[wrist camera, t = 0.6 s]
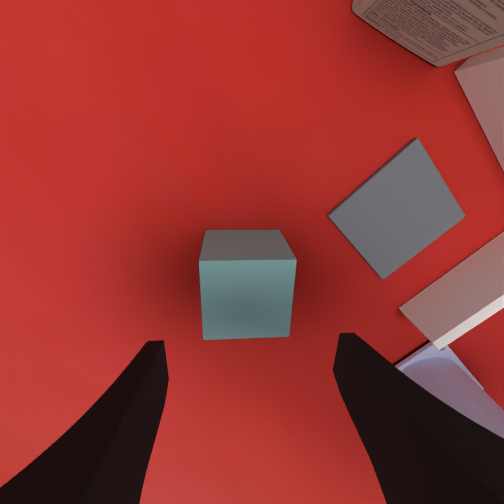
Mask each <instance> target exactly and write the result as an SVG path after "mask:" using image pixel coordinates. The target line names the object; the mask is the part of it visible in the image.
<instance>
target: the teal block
mask: <svg viewBox="0 0 504 504" xmlns="http://www.w3.org/2000/svg"><path fill="white" fill-rule="evenodd" d="M296 262H297V259H296V258H295V256H294V254H293V252H292V251H291V249H290V247H289V245H288V243H287V242H286V240H285V238H284V236H283V235H282V233H281V231H280V230H206V231H205V236H204V240H203V244H202V249H201V253H200V258H199V273H200V291H201V308H202V326H203V340H216V339H242V338H268V337H289V332H290V322H291V312H292V302H293V292H294V282H295V272H296Z"/></svg>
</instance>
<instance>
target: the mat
mask: <svg viewBox="0 0 504 504" xmlns="http://www.w3.org/2000/svg"><path fill="white" fill-rule="evenodd" d="M327 216H328V217H329V218H330V219H331V221H332V222H333V223H334V224H335V225H336V226H337V228H338V229H339V230H340V231H341V232H342V233H343V235H344V236H345V237H346V238H347V239H348V240H349V242H350V243H351V244H352V245H353V246H354V247H355V248H356V250H357V251H358V252H359V253H360V254H361V255H362V257H363V258H364V259H365V260H366V261H367V262H368V264H369V265H370V266H371V267H372V268H373V269H374V271H375V272H376V273H377V274H378V275H379V276H380V278H381V279H383V280H384V279H385V278H386V277H388V276H389V275H390V274H391V273H393V272H394V271H395V270H397V269H398V268H399V267H401V266H402V265H403V264H404V263H406V262H407V261H408V260H410V259H411V258H412V257H414V256H415V255H416V254H417V253H419V252H420V251H421V250H423V249H424V248H425V247H427V246H428V245H429V244H430V243H432V242H433V241H434V240H436V239H437V238H438V237H440V236H441V235H442V234H443V233H445V232H446V231H447V230H449V229H450V228H451V227H453V226H454V225H455V224H456V223H458V222H459V221H460V220H462V219H463V218H464V217H466V216H465V215H464V213H463V211H462V210H461V208H460V206H459V205H458V203H457V201H456V200H455V198H454V196H453V195H452V193H451V192H450V190H449V188H448V187H447V185H446V183H445V182H444V180H443V178H442V177H441V175H440V173H439V172H438V170H437V169H436V167H435V165H434V164H433V162H432V160H431V159H430V157H429V155H428V154H427V152H426V150H425V149H424V147H423V145H422V144H421V142H420V141H419V139H418V138H414V139H413V140H412V141H411V142H409V143H408V144H407V145H406V146H405V147H404V148H403V149H401V150H400V151H399V152H398V153H397V154H396V155H395V156H393V157H392V158H391V159H390V160H389V161H388V162H387V163H386V164H384V165H383V166H382V167H381V168H380V169H379V170H378V171H376V172H375V173H374V174H373V175H372V176H371V177H370V178H368V179H367V180H366V181H365V182H364V183H363V184H362V185H360V186H359V187H358V188H357V189H356V190H355V191H354V192H353V193H351V194H350V195H349V196H348V197H347V198H346V199H345V200H343V201H342V202H341V203H340V204H339V205H338V206H337V207H335V208H334V209H333V210H332V211H331V212H330V213H329V214H327Z"/></svg>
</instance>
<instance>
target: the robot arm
mask: <svg viewBox="0 0 504 504" xmlns="http://www.w3.org/2000/svg"><path fill="white" fill-rule="evenodd" d="M333 372H334V375H335V378H336V382H337V385H338V388H339V391H340V394H341V396H342V398H343V401H344V403H345V405H346V407H347V409H348V412H349V414H350V416H351V418H352V420H353V422H354V425H355V427H356V429H357V431H358V433H359V435H360V438H361V440H362V442H363V444H364V446H365V448H366V450H367V453H368V455H369V457H370V460H371V462H372V465H373V467H374V470H375V472H376V475H377V478H378V481H379V483H380V486H381V489H382V492H383V494H384V497H385V500H386V503H387V504H504V410H503V409H502V408H501V407H500V406H499V405H498V404H497V403H496V402H495V401H494V400H493V399H492V398H491V397H490V396H489V395H488V394H487V393H486V392H485V391H484V388H483V387H482V386H481V385H480V384H479V382H478V381H477V380H476V379H475V378H474V376H473V375H472V374H471V373H470V372H469V370H468V369H467V368H466V367H465V366H464V364H463V363H462V362H461V361H460V360H459V359H458V357H457V356H456V355H455V354H454V353H453V351H452V350H451V349H450V348H449V347H448V345H446V346H445V347H443V348H442V349H440V350H439V349H438V348H437V347H436V346H435V345H434V344H433V343H432V342H429V343H428V344H426V345H425V346H423V347H422V348H420V349H419V350H417V351H416V352H414V353H413V354H411V355H410V356H409V357H407V358H406V359H404V360H403V361H401V362H400V363H398V364H397V365H395V366H394V365H392V364H391V363H390V362H389V361H388V360H386V359H385V358H384V357H383V356H381V355H380V354H379V353H378V352H377V351H375V350H374V349H373V348H372V347H371V346H370V345H368V344H367V343H366V342H365V341H364V340H362V339H361V338H360V337H359V336H357V335H356V334H355V333H340V335H339V341H338V346H337V351H336V356H335V361H334V367H333ZM168 381H169V376H168V369H167V361H166V353H165V346H164V340H163V341H148V342H147V343H145V345H144V346H143V347H142V349H141V350H140V351H139V352H138V354H137V355H136V356H135V357H134V359H133V360H132V361H131V362H130V364H129V365H128V366H127V367H126V369H125V370H124V371H123V372H122V373H121V374H120V376H119V377H118V378H117V379H116V380H115V381H114V383H113V384H112V385H111V386H110V387H109V388H108V389H107V391H106V392H105V393H104V394H103V395H102V396H101V397H100V398H99V399H98V400H97V401H96V402H95V403H94V404H93V406H92V407H91V408H90V409H89V410H88V411H87V412H86V413H85V414H84V415H83V416H82V417H81V418H80V419H79V420H78V421H77V422H76V423H75V424H74V425H73V426H72V427H71V428H69V429H68V430H67V431H66V432H65V433H64V434H63V435H62V436H61V437H60V438H59V439H58V440H57V441H55V442H54V443H53V444H52V445H51V446H50V447H49V448H48V449H46V450H45V451H44V452H43V453H42V454H41V455H40V456H38V457H37V458H36V459H35V460H34V461H33V462H31V463H30V464H29V465H28V466H27V467H26V468H24V469H23V470H22V471H21V472H19V473H18V474H17V475H16V476H14V477H13V478H12V479H11V480H9V481H8V482H7V483H6V484H4V485H3V486H2V487H0V504H139V502H140V497H141V492H142V487H143V483H144V479H145V474H146V470H147V467H148V463H149V460H150V456H151V452H152V449H153V445H154V442H155V438H156V435H157V431H158V427H159V424H160V420H161V416H162V413H163V409H164V405H165V399H166V394H167V387H168Z"/></svg>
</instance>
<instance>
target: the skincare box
mask: <svg viewBox="0 0 504 504" xmlns="http://www.w3.org/2000/svg"><path fill="white" fill-rule="evenodd" d="M352 11H353V12H354V13H355V14H356V15H358V16H359V17H360V18H362V19H363V20H364V21H366V22H367V23H369V24H370V25H372V26H373V27H374V28H376V29H377V30H379V31H380V32H382V33H383V34H385V35H386V36H388V37H389V38H391V39H393V40H394V41H396V42H397V43H399V44H400V45H402V46H403V47H405V48H407V49H408V50H410V51H412V52H413V53H415V54H416V55H418V56H420V57H421V58H423V59H425V60H426V61H428V62H430V63H432V64H433V65H435V66H437V67H441V66H444V65H447V64H450V63H453V62H455V61H459V60H461V59H464V58H467V57H470V56H473V55H476V54H479V53H482V52H484V51H487V50H490V49H493V48H496V47H499V46H502V45H504V0H354V1H353V4H352Z"/></svg>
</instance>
